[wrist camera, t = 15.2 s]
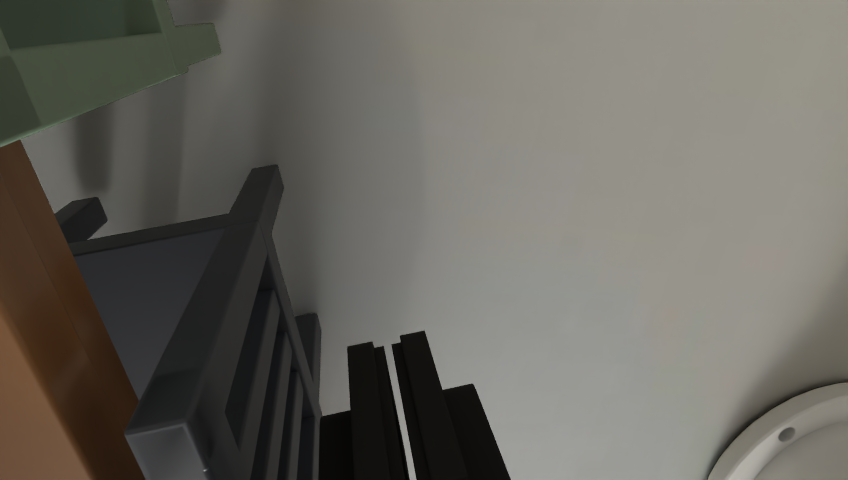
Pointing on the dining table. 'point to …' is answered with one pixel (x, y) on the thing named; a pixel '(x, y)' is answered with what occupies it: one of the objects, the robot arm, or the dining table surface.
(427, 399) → the robot arm
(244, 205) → the charcoal chair
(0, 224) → the oak table
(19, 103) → the sage chair
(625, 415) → the dining table surface
